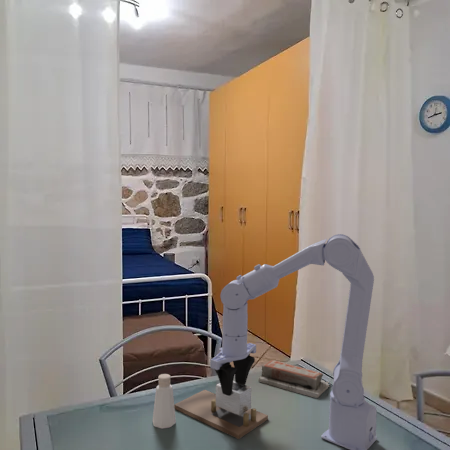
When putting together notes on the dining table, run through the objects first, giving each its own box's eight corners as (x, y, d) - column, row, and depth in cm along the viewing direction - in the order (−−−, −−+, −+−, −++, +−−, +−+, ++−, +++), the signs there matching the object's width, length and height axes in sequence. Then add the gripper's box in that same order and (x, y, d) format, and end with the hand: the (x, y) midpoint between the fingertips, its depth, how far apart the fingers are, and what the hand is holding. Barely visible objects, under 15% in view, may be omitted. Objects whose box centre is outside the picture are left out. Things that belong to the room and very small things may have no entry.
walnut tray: (267, 419, 102) (268, 405, 102) (238, 439, 94) (239, 423, 94) (204, 393, 115) (204, 380, 115) (174, 408, 107) (174, 394, 106)
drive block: (251, 408, 101) (251, 387, 101) (239, 415, 98) (239, 393, 97) (227, 399, 106) (227, 378, 105) (215, 405, 102) (215, 384, 102)
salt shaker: (180, 423, 100) (181, 376, 99) (160, 431, 96) (160, 383, 96) (167, 414, 104) (167, 369, 103) (147, 421, 100) (147, 375, 100)
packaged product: (257, 366, 123) (273, 355, 131) (256, 382, 123) (272, 371, 131) (318, 382, 113) (331, 369, 121) (317, 400, 113) (331, 386, 122)
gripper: (240, 322, 109) (239, 375, 110) (200, 336, 97) (199, 395, 98) (263, 328, 104) (262, 384, 105) (224, 344, 93) (223, 406, 94)
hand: (233, 390), depth 101 cm, fingers closed on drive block, 4 cm apart
